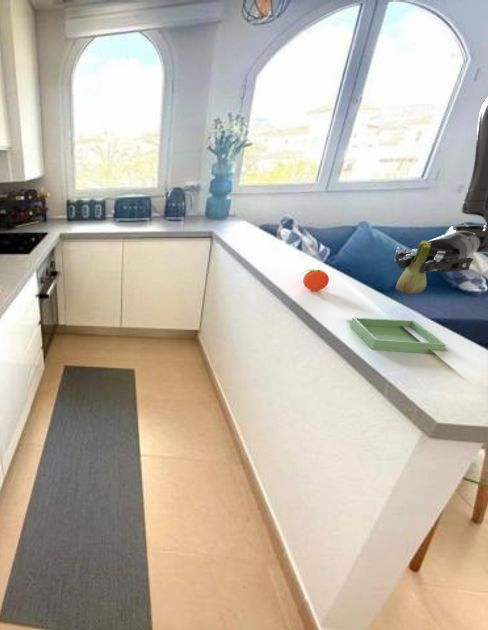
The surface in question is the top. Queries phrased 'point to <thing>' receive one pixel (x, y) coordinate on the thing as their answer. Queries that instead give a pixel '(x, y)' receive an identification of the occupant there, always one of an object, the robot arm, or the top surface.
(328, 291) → the top surface
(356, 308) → the top surface
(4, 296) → the top surface
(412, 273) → the fennel bulb
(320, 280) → the tomato
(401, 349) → the green tray
